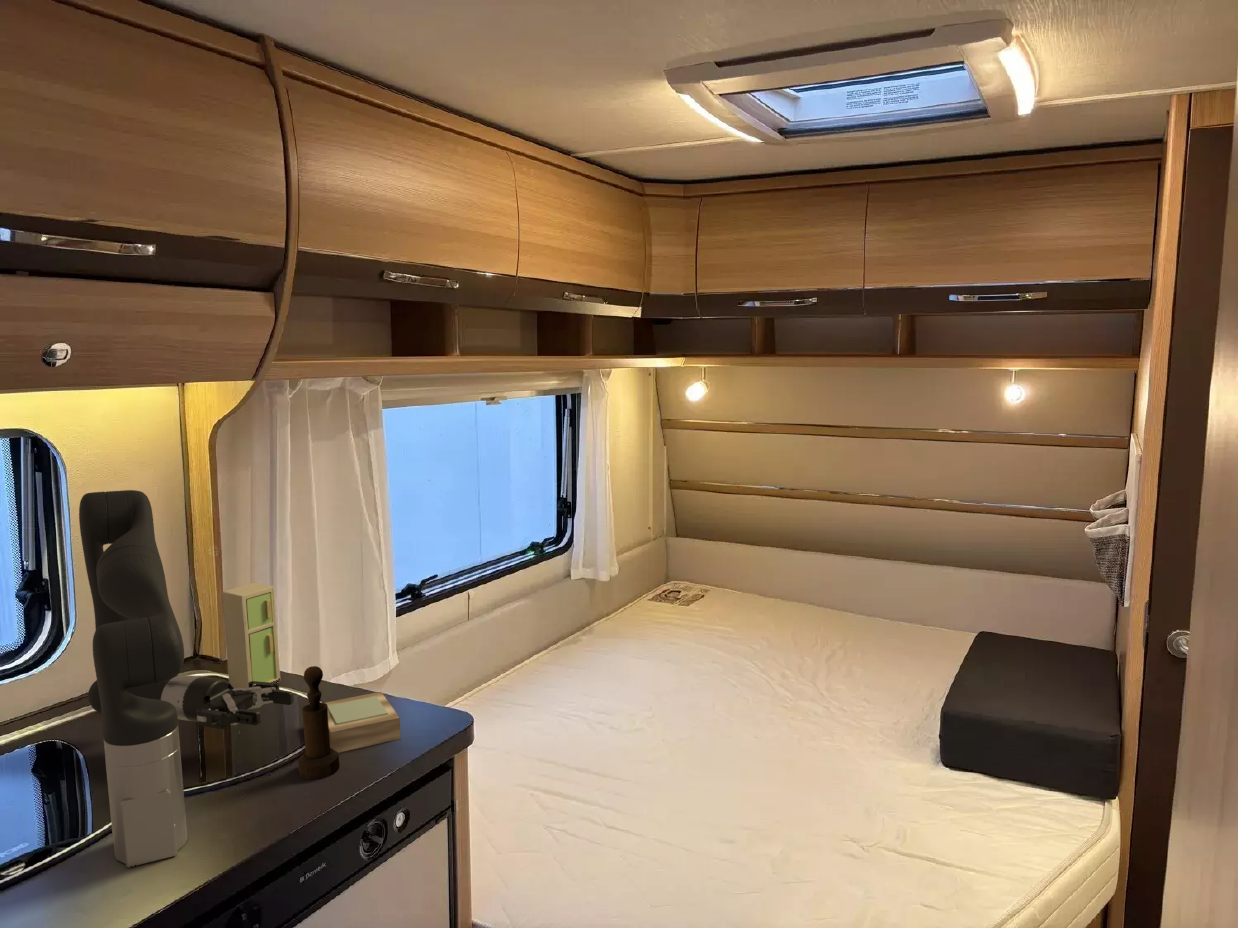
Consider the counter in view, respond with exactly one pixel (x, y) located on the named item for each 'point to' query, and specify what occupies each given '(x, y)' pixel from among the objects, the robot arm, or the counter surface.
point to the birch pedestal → (361, 722)
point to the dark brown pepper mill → (316, 732)
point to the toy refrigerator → (251, 634)
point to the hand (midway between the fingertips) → (276, 708)
